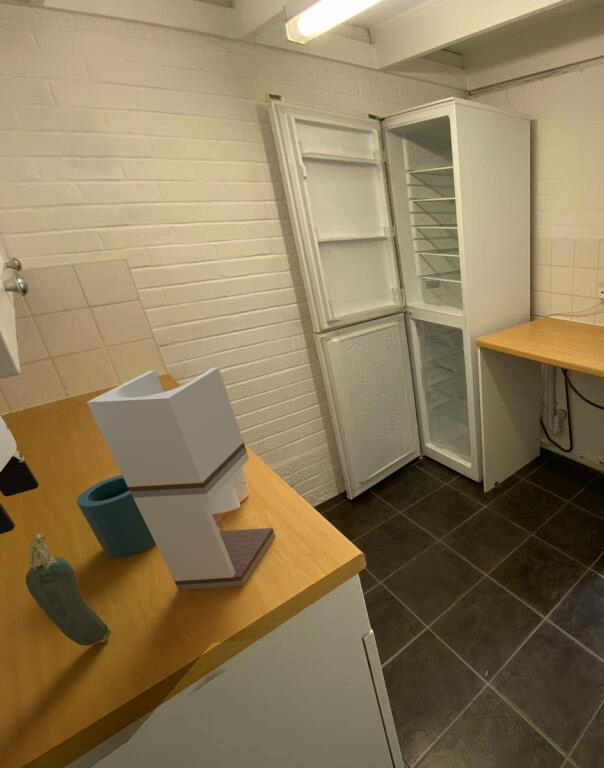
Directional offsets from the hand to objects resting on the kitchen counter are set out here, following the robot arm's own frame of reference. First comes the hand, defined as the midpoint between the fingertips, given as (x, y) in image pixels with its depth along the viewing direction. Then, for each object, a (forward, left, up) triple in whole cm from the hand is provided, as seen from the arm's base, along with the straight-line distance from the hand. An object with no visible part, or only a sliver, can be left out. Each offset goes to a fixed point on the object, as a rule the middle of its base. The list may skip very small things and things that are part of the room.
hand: (10, 511), depth 51 cm
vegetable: (0, 0, -25) cm, 25 cm away
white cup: (+14, +30, -25) cm, 41 cm away
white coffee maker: (+16, +9, -25) cm, 31 cm away
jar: (-1, +24, -25) cm, 35 cm away
